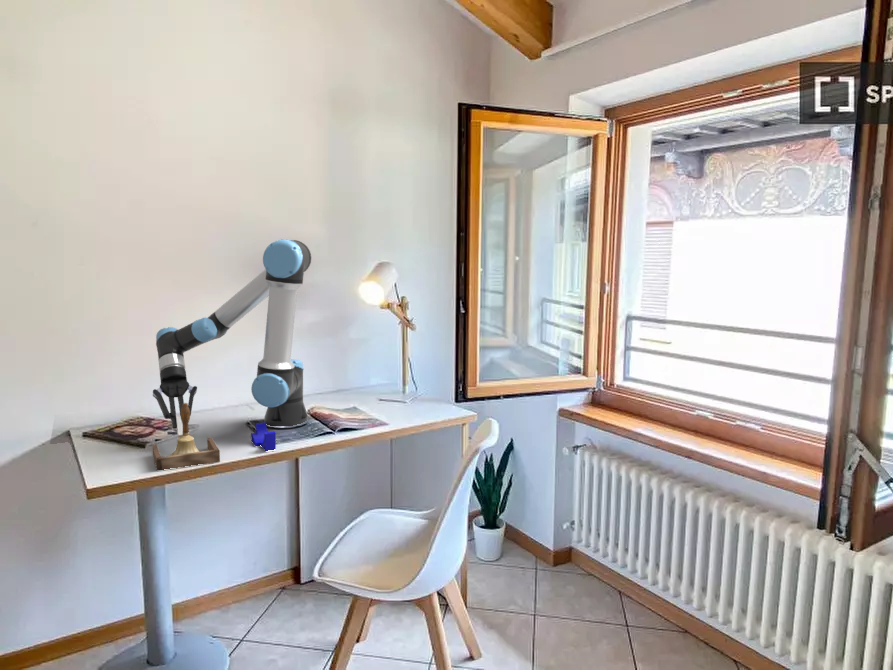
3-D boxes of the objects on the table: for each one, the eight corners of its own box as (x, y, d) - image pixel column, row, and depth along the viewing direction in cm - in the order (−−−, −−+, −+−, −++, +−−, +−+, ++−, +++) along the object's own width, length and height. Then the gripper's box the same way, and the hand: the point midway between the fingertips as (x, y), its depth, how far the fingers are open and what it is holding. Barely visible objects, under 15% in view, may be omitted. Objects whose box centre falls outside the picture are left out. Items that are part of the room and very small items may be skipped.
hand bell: (204, 450, 179) (203, 399, 177) (196, 460, 171) (194, 407, 168) (176, 450, 178) (174, 399, 176) (166, 460, 170) (164, 407, 168)
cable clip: (251, 442, 189) (250, 424, 188) (265, 440, 191) (265, 422, 190) (260, 453, 179) (260, 434, 178) (275, 451, 181) (275, 432, 180)
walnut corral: (211, 448, 181) (211, 437, 181) (219, 461, 170) (219, 450, 170) (152, 456, 173) (152, 444, 172) (157, 471, 162) (156, 459, 161)
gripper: (193, 376, 193) (202, 439, 182) (149, 379, 187) (156, 445, 175) (195, 363, 188) (205, 428, 176) (150, 366, 181) (157, 433, 170)
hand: (180, 436), depth 176 cm, fingers closed
